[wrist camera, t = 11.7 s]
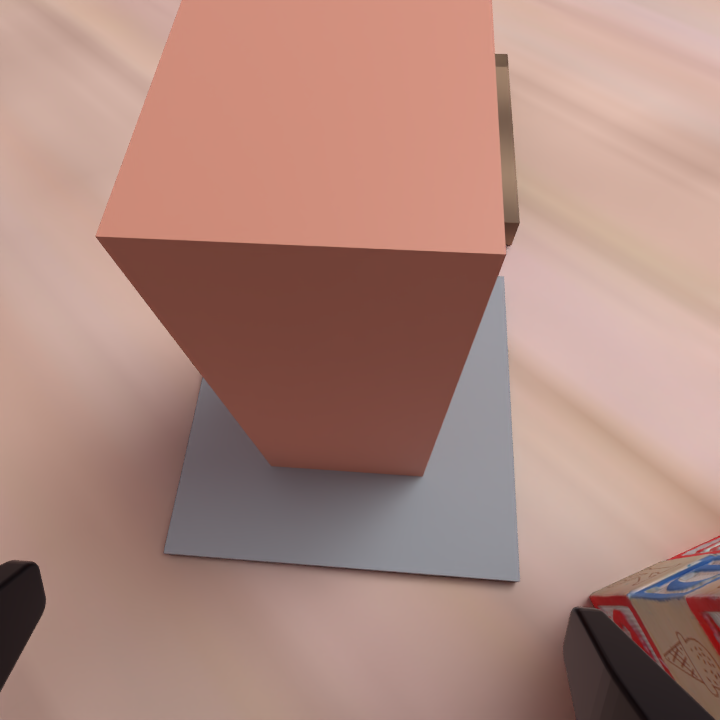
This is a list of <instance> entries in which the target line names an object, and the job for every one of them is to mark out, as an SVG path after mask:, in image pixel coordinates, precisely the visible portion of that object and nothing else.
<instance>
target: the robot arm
mask: <svg viewBox="0 0 720 720" xmlns="http://www.w3.org/2000/svg"><path fill="white" fill-rule="evenodd" d="M45 604H46V596H45V592H44V587H43V583H42V579H41V574H40V570H39V567H38V565H37V564H36V563H34V562H31V561H19V560H12V561H8V562H6V563H4V564H2V565H0V691H1V690H2V688H3V686H4V684H5V682H6V680H7V679H8V677H9V675H10V673H11V671H12V669H13V668H14V666H15V664H16V662H17V660H18V658H19V656H20V655H21V653H22V651H23V649H24V647H25V645H26V644H27V642H28V640H29V638H30V636H31V634H32V633H33V631H34V629H35V627H36V625H37V623H38V621H39V620H40V618H41V616H42V614H43V611H44V609H45ZM563 655H564V662H565V667H566V672H567V677H568V682H569V686H570V691H571V696H572V701H573V706H574V711H575V715H576V720H716V719H715V718H714V717H713V716H711V715H710V714H709V713H708V712H707V711H706V710H705V709H704V708H703V707H702V706H701V705H700V704H699V703H698V702H697V701H696V700H695V699H694V698H693V697H692V696H691V695H690V694H689V693H688V692H686V691H685V690H684V689H683V688H682V687H681V686H680V685H679V684H678V683H677V682H676V681H675V680H674V679H673V678H672V677H671V676H670V675H669V674H668V673H667V672H666V671H665V670H664V669H662V668H661V667H660V666H659V665H658V664H657V663H656V662H655V661H654V660H653V659H652V658H651V657H650V656H649V655H648V654H647V653H646V652H645V651H644V650H643V649H642V648H641V647H640V646H639V645H637V644H636V643H635V642H634V641H633V640H632V639H631V638H630V637H629V636H628V635H627V634H626V633H625V632H624V631H623V630H622V629H621V628H620V627H619V626H618V625H617V624H616V623H615V622H614V621H612V620H611V619H610V618H609V617H608V616H607V615H606V614H605V613H604V612H603V611H601V610H600V609H597V608H587V607H575V608H573V609H572V611H571V614H570V618H569V622H568V627H567V631H566V635H565V640H564V645H563Z"/></svg>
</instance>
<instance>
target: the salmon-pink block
mask: <svg viewBox="0 0 720 720" xmlns="http://www.w3.org/2000/svg"><path fill="white" fill-rule="evenodd" d="M95 237H96V238H97V239H98V240H99V242H100V243H101V244H102V246H103V247H104V248H105V250H106V251H107V252H108V254H109V255H110V256H111V257H112V259H113V260H114V261H115V263H116V264H117V265H118V267H119V268H120V269H121V271H122V272H123V273H124V274H125V276H126V277H127V278H128V280H129V281H130V282H131V284H132V285H133V286H134V287H135V289H136V290H137V291H138V293H139V294H140V295H141V297H142V298H143V299H144V301H145V302H146V303H147V304H148V306H149V307H150V308H151V310H152V311H153V312H154V314H155V315H156V316H157V318H158V319H159V320H160V321H161V323H162V324H163V325H164V327H165V328H166V329H167V331H168V332H169V333H170V335H171V336H172V337H173V338H174V340H175V341H176V342H177V344H178V345H179V346H180V348H181V349H182V350H183V352H184V353H185V354H186V355H187V357H188V358H189V359H190V361H191V362H192V363H193V365H194V366H195V367H196V369H197V370H198V371H199V372H200V374H201V375H202V376H203V378H204V379H205V380H206V382H207V383H208V384H209V386H210V387H211V388H212V389H213V391H214V392H215V393H216V395H217V396H218V397H219V399H220V400H221V401H222V402H223V404H224V405H225V406H226V408H227V409H228V410H229V412H230V413H231V414H232V416H233V417H234V418H235V419H236V421H237V422H238V423H239V425H240V426H241V427H242V429H243V430H244V431H245V433H246V434H247V435H248V436H249V438H250V439H251V440H252V442H253V443H254V444H255V446H256V447H257V448H258V450H259V451H260V452H261V453H262V455H263V456H264V457H265V459H266V460H267V461H268V463H269V464H270V465H271V466H276V467H290V468H305V469H319V470H334V471H349V472H363V473H378V474H392V475H407V476H421V477H423V475H424V472H425V469H426V467H427V464H428V461H429V459H430V456H431V453H432V451H433V448H434V445H435V443H436V440H437V437H438V435H439V432H440V429H441V427H442V424H443V421H444V419H445V416H446V413H447V411H448V408H449V405H450V403H451V400H452V397H453V395H454V392H455V389H456V387H457V384H458V381H459V379H460V376H461V373H462V371H463V368H464V365H465V363H466V360H467V357H468V355H469V352H470V349H471V347H472V344H473V341H474V339H475V336H476V333H477V331H478V328H479V325H480V323H481V320H482V317H483V315H484V312H485V309H486V307H487V304H488V301H489V299H490V296H491V293H492V291H493V288H494V285H495V283H496V280H497V277H498V275H499V272H500V269H501V267H502V264H503V261H504V259H505V256H506V244H505V226H504V209H503V191H502V173H501V155H500V137H499V119H498V102H497V84H496V66H495V48H494V30H493V13H492V0H182V1H181V4H180V7H179V9H178V12H177V15H176V18H175V20H174V23H173V26H172V29H171V31H170V34H169V37H168V39H167V42H166V45H165V48H164V50H163V53H162V56H161V59H160V61H159V64H158V67H157V69H156V72H155V75H154V78H153V80H152V83H151V86H150V89H149V91H148V94H147V97H146V100H145V102H144V105H143V108H142V110H141V113H140V116H139V119H138V121H137V124H136V127H135V130H134V132H133V135H132V138H131V140H130V143H129V146H128V149H127V151H126V154H125V157H124V160H123V162H122V165H121V168H120V171H119V173H118V176H117V179H116V181H115V184H114V187H113V190H112V192H111V195H110V198H109V201H108V203H107V206H106V209H105V211H104V214H103V217H102V220H101V222H100V225H99V228H98V231H97V233H96V236H95Z"/></svg>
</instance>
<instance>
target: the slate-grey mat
mask: <svg viewBox="0 0 720 720" xmlns="http://www.w3.org/2000/svg"><path fill="white" fill-rule="evenodd" d="M164 553H165V554H173V555H186V556H198V557H211V558H224V559H236V560H249V561H261V562H274V563H287V564H299V565H312V566H324V567H337V568H349V569H362V570H375V571H387V572H400V573H412V574H425V575H438V576H450V577H463V578H475V579H488V580H501V581H513V582H519V581H520V573H519V554H518V535H517V516H516V497H515V478H514V459H513V440H512V421H511V402H510V383H509V364H508V345H507V326H506V307H505V288H504V277H502V276H498V277H497V280H496V283H495V285H494V288H493V291H492V293H491V296H490V299H489V301H488V304H487V307H486V309H485V312H484V315H483V317H482V320H481V323H480V325H479V328H478V331H477V333H476V336H475V339H474V341H473V344H472V347H471V349H470V352H469V355H468V357H467V360H466V363H465V365H464V368H463V371H462V373H461V376H460V379H459V381H458V384H457V387H456V389H455V392H454V395H453V397H452V400H451V403H450V405H449V408H448V411H447V413H446V416H445V419H444V421H443V424H442V427H441V429H440V432H439V435H438V437H437V440H436V443H435V445H434V448H433V451H432V453H431V456H430V459H429V461H428V464H427V467H426V469H425V472H424V475H423V477H421V476H407V475H392V474H378V473H363V472H349V471H334V470H319V469H305V468H290V467H276V466H271V465H270V464H269V463H268V461H267V460H266V459H265V457H264V456H263V455H262V453H261V452H260V451H259V450H258V448H257V447H256V446H255V444H254V443H253V442H252V440H251V439H250V438H249V436H248V435H247V434H246V433H245V431H244V430H243V429H242V427H241V426H240V425H239V423H238V422H237V421H236V419H235V418H234V417H233V416H232V414H231V413H230V412H229V410H228V409H227V408H226V406H225V405H224V404H223V402H222V401H221V400H220V399H219V397H218V396H217V395H216V393H215V392H214V391H213V389H212V388H211V387H210V386H209V384H208V383H207V382H206V380H205V379H204V378H202V383H201V387H200V392H199V396H198V401H197V405H196V409H195V414H194V418H193V423H192V427H191V432H190V436H189V441H188V445H187V450H186V454H185V459H184V463H183V468H182V472H181V477H180V481H179V486H178V490H177V495H176V499H175V504H174V508H173V513H172V517H171V521H170V526H169V530H168V535H167V539H166V544H165V548H164Z"/></svg>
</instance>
